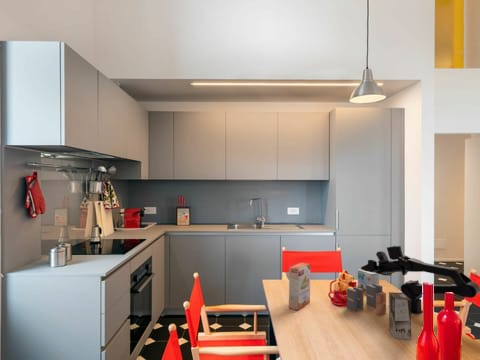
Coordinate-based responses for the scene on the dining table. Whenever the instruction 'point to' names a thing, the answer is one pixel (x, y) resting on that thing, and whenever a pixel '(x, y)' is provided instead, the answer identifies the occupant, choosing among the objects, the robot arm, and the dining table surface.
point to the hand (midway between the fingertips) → (365, 269)
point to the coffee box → (400, 315)
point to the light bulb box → (367, 278)
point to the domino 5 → (380, 303)
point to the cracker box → (299, 286)
